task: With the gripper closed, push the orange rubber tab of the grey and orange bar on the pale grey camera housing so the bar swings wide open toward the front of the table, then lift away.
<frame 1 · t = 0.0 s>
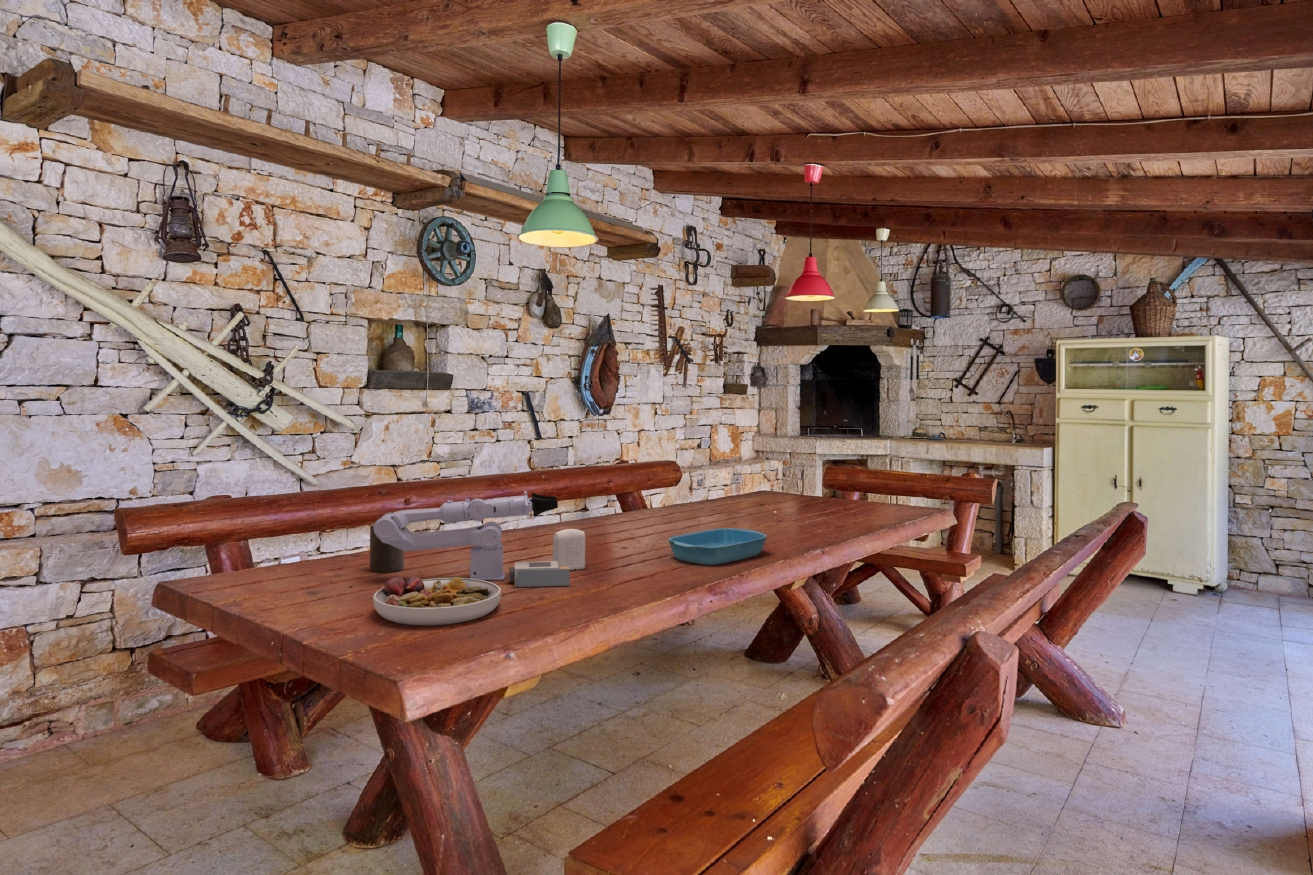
hand: (557, 502, 230), 22 cm above the table, tool horizontal, fingers open, 7 cm apart
casserole dish: (718, 557, 262), on the table
pillar candle: (387, 570, 237), on the table
grey and orange bar: (542, 576, 219), point 2 cm above the table, hinge at 0.0°
bowl: (438, 612, 193), on the table
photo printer: (568, 570, 240), on the table
camera housing: (536, 582, 223), on the table
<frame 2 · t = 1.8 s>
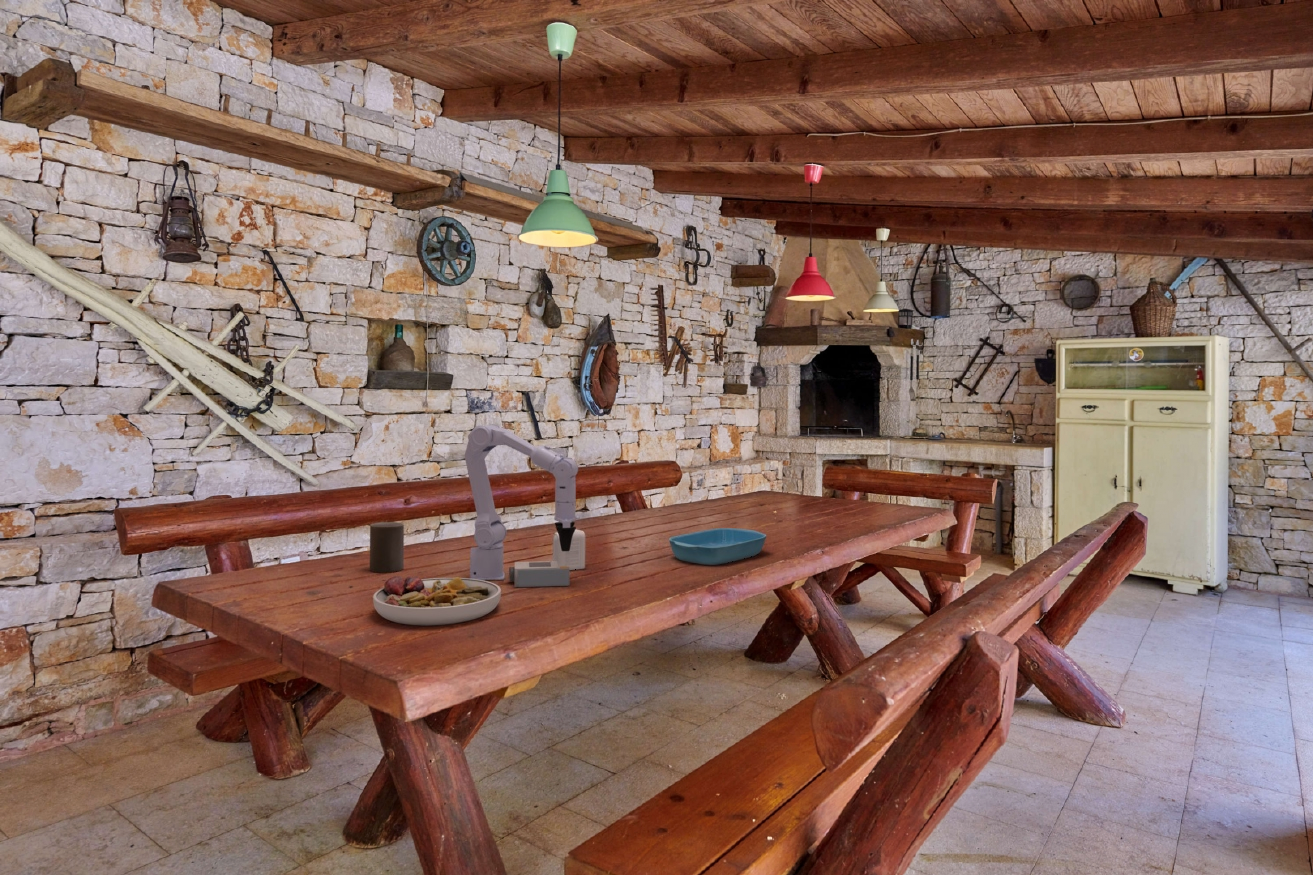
hand: (565, 549, 223), 9 cm above the table, tool pointing down, fingers open, 5 cm apart
nothing on the table moved.
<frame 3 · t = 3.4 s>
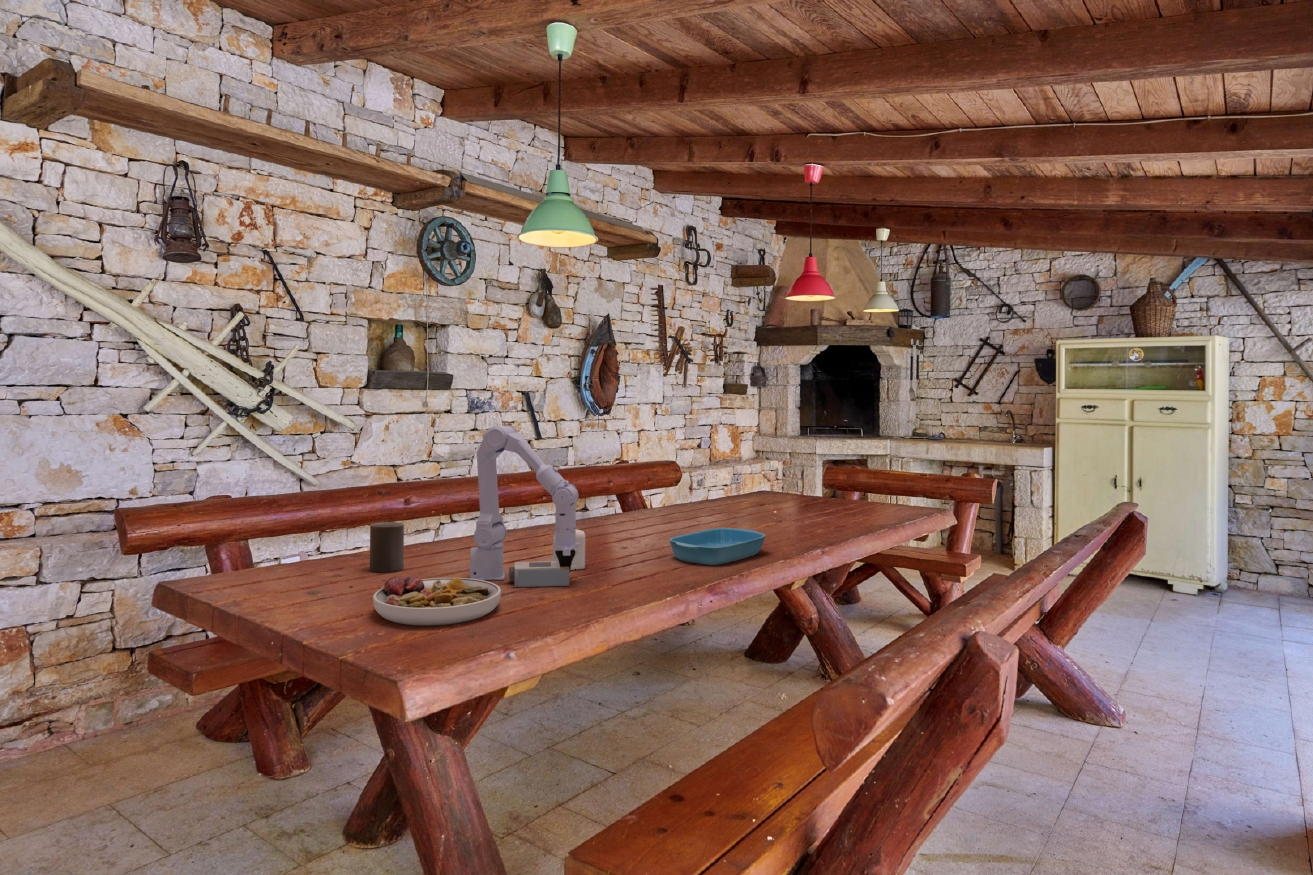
hand: (565, 575, 223), 2 cm above the table, tool pointing down, fingers closed
grey and orange bar: (542, 576, 219), point 3 cm above the table, hinge at 0.4°, touching gripper
everything else where it was.
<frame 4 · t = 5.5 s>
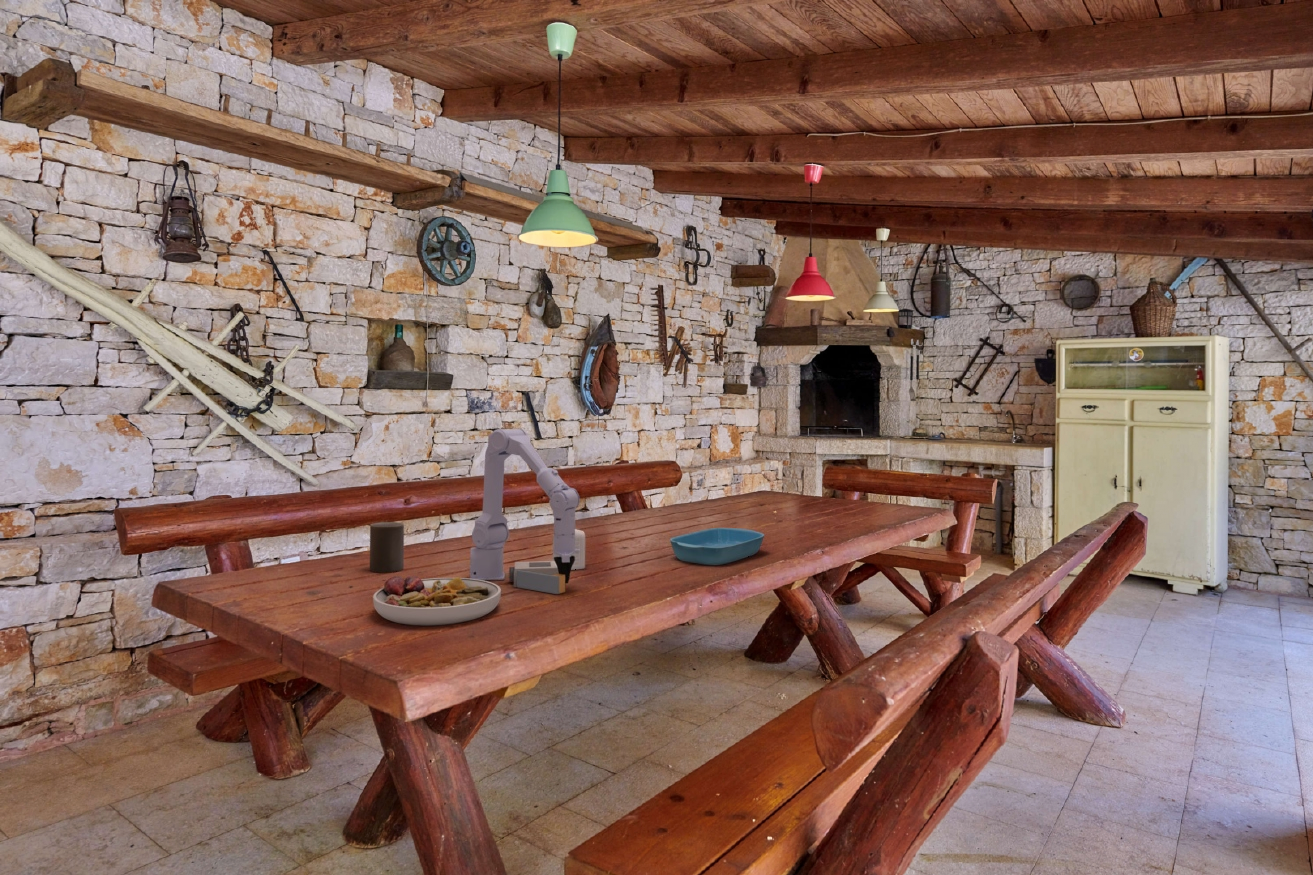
hand: (564, 583, 214), 2 cm above the table, tool pointing down, fingers closed
grey and orange bar: (538, 580, 214), point 2 cm above the table, hinge at 40.1°, touching gripper
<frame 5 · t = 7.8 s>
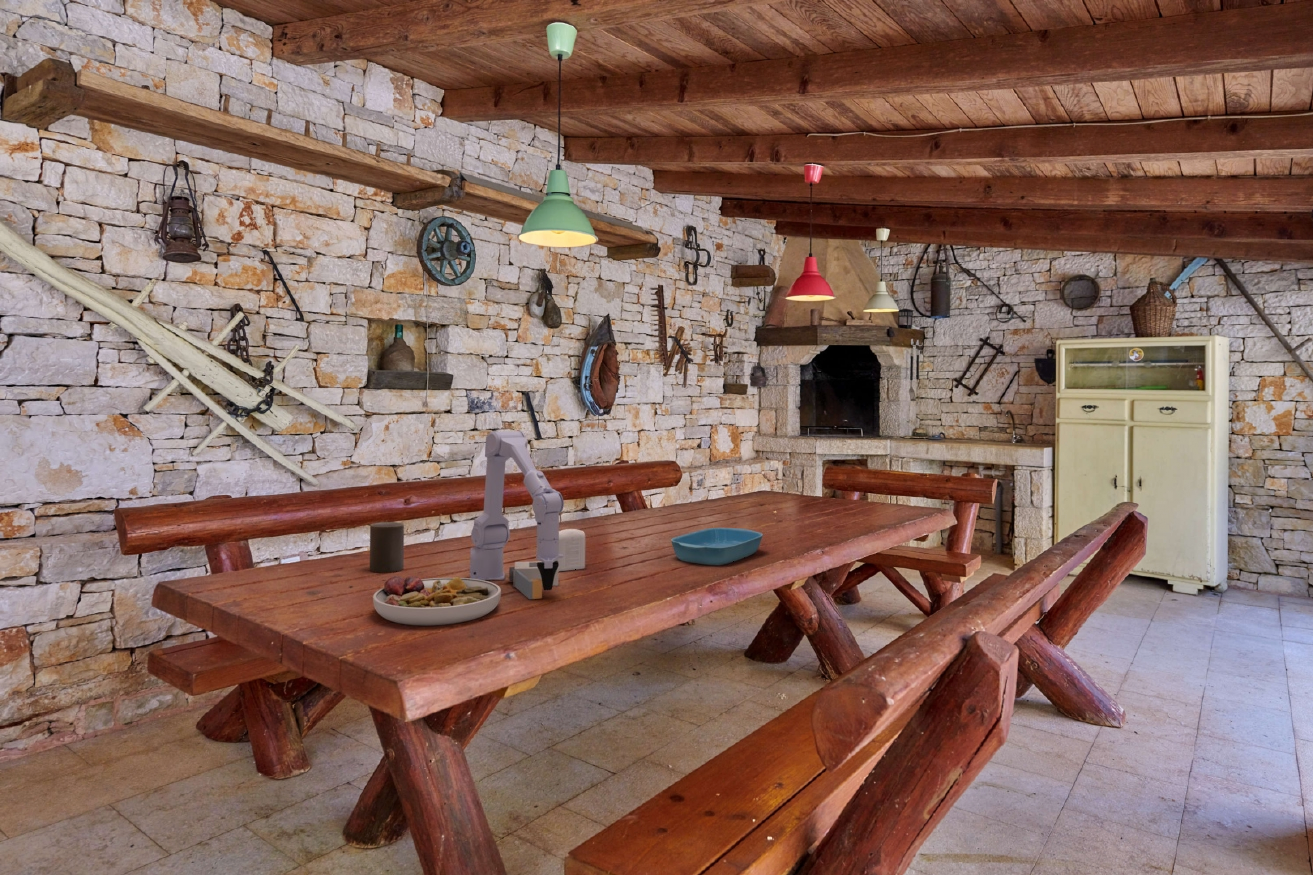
hand: (547, 589, 207), 2 cm above the table, tool pointing down, fingers closed
grey and orange bar: (527, 583, 211), point 3 cm above the table, hinge at 74.4°, touching gripper
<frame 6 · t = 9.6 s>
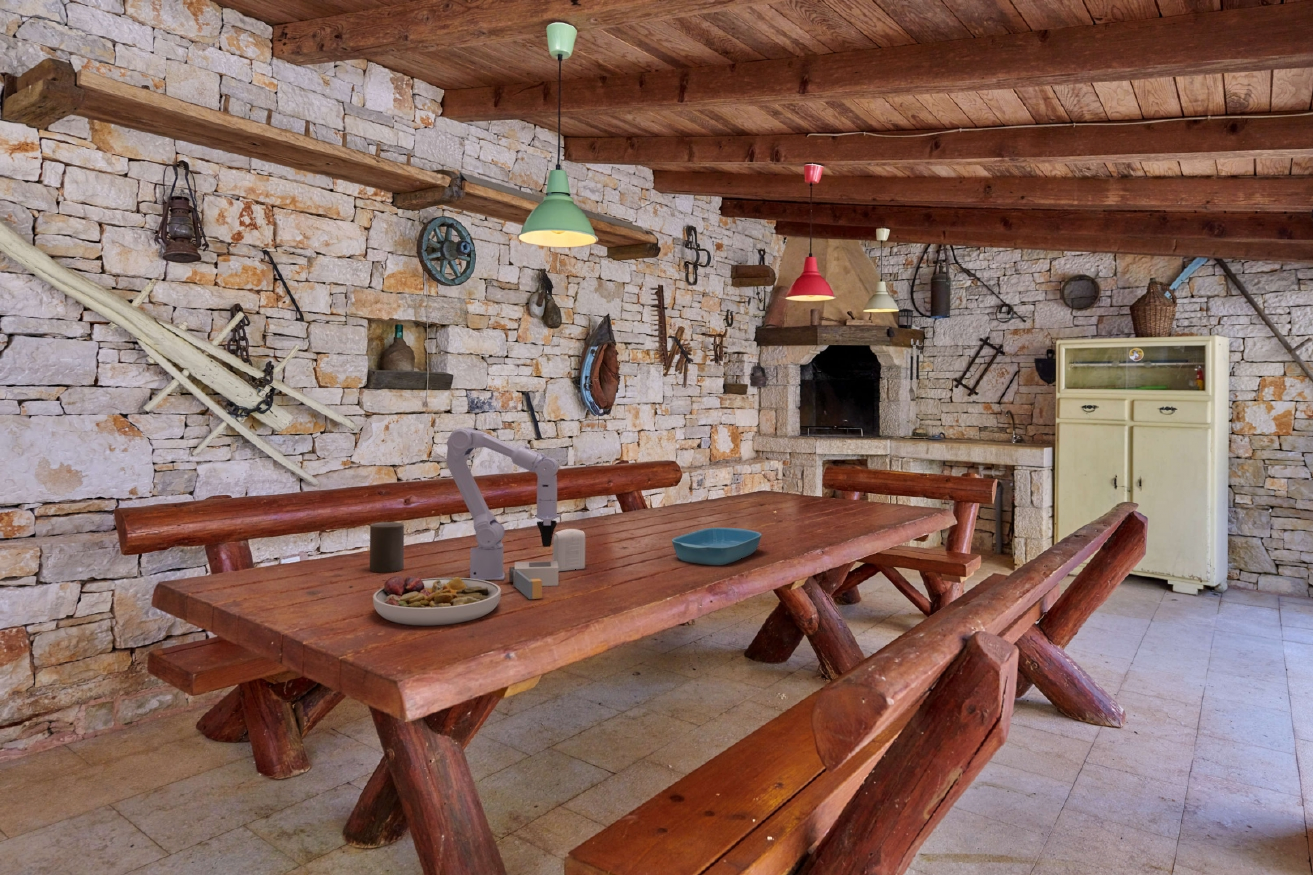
hand: (546, 546, 227), 9 cm above the table, tool pointing down, fingers closed
grey and orange bar: (527, 583, 211), point 3 cm above the table, hinge at 74.5°
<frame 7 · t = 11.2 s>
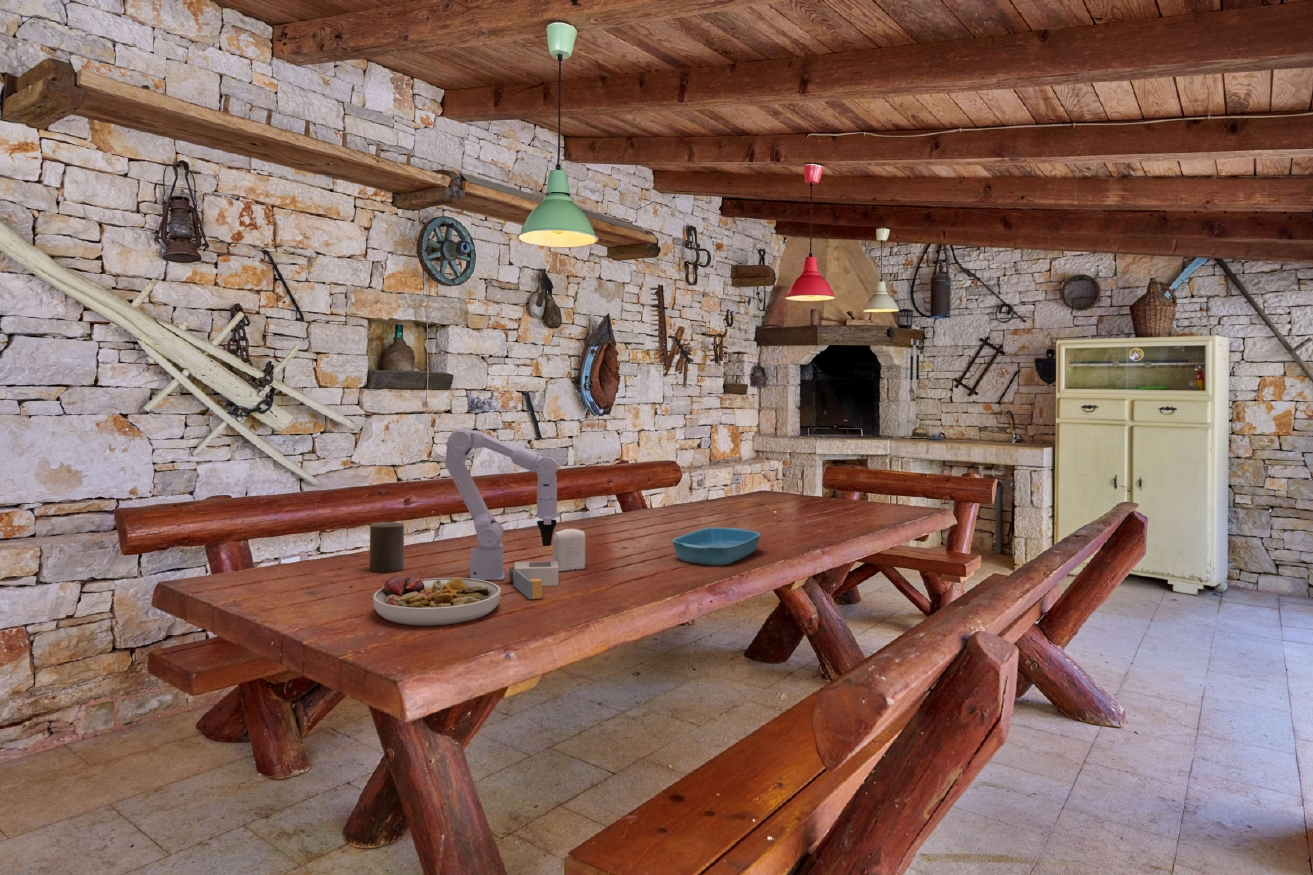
hand: (546, 545, 228), 9 cm above the table, tool pointing down, fingers closed
at the end: grey and orange bar at +74° (first picture: +0°) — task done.
